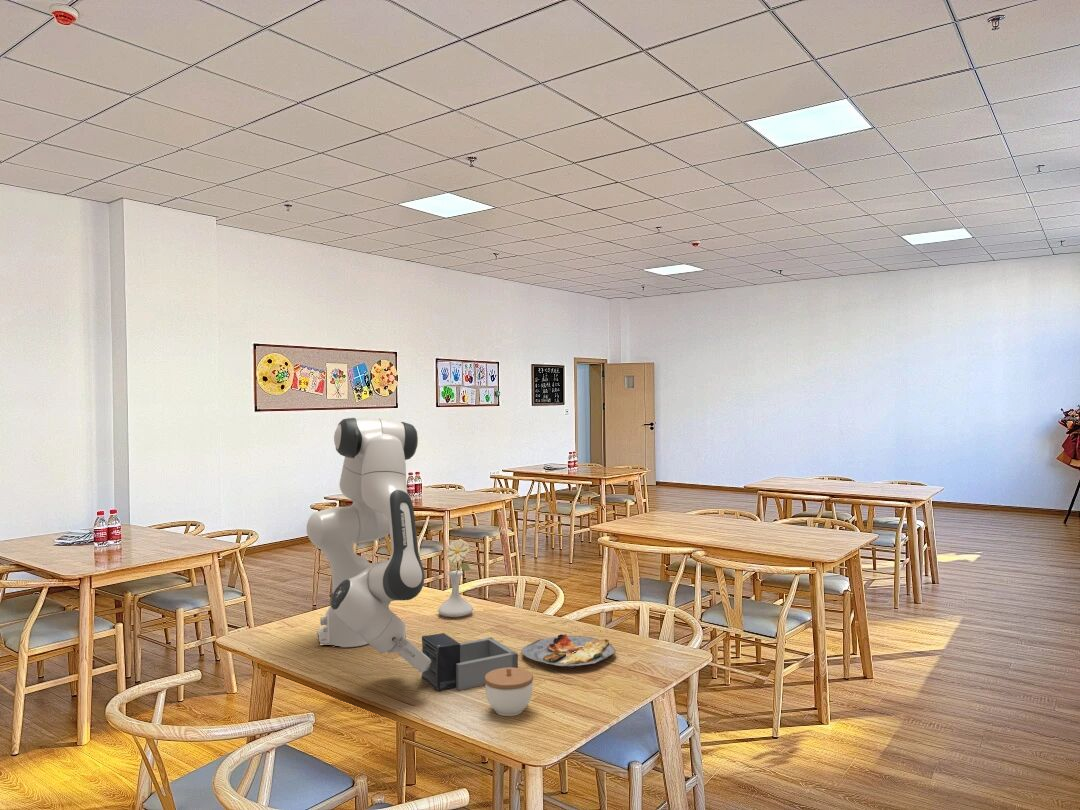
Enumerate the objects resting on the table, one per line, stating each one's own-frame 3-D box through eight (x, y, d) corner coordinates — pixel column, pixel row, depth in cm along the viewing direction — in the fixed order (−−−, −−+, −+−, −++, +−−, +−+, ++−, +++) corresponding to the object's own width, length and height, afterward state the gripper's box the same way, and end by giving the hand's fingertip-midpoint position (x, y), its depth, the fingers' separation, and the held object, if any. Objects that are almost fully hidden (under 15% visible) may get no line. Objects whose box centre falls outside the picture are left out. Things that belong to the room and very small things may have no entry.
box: (435, 671, 190) (434, 647, 190) (491, 659, 198) (491, 637, 198) (458, 690, 177) (458, 665, 177) (518, 677, 185) (517, 653, 185)
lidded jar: (481, 703, 169) (481, 662, 169) (527, 698, 171) (527, 658, 171) (489, 723, 158) (488, 679, 158) (538, 717, 161) (537, 674, 161)
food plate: (559, 637, 217) (558, 625, 217) (629, 652, 203) (629, 639, 203) (506, 662, 196) (506, 649, 196) (581, 680, 183) (580, 666, 183)
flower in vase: (431, 615, 241) (430, 538, 241) (459, 608, 248) (458, 533, 248) (455, 623, 231) (453, 543, 231) (483, 616, 239) (482, 538, 239)
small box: (462, 686, 179) (461, 642, 179) (437, 691, 176) (436, 647, 176) (445, 672, 188) (444, 631, 188) (421, 677, 185) (420, 635, 185)
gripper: (410, 633, 168) (451, 669, 173) (383, 612, 186) (420, 645, 190) (392, 657, 166) (433, 692, 170) (365, 633, 183) (404, 665, 188)
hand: (426, 667), depth 181 cm, fingers closed, pressing on small box
